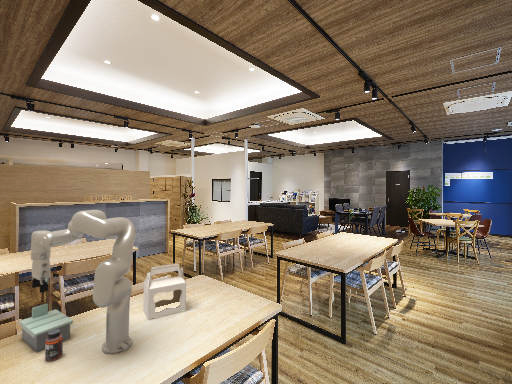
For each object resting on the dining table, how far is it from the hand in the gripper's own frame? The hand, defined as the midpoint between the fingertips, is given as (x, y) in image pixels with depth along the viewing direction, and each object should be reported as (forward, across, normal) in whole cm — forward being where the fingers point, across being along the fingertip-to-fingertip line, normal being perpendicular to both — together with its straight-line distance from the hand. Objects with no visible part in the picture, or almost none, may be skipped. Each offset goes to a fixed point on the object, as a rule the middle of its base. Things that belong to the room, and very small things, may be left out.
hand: (39, 289), depth 129 cm
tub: (+22, -9, 0) cm, 24 cm away
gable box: (+22, -31, -52) cm, 64 cm away
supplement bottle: (+22, -28, +3) cm, 36 cm away
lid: (+15, -8, 0) cm, 18 cm away
